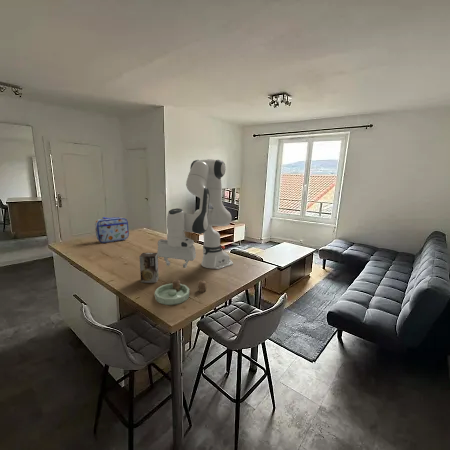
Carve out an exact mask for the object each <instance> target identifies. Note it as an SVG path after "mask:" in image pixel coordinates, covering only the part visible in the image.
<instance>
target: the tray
mask: <svg viewBox="0 0 450 450" xmlns="http://www.w3.org/2000/svg"><path fill="white" fill-rule="evenodd" d="M190 291H191V289H190V288H189V286H187V285H186V284H182V283H180V291H178V292H176V289H173V285H172V283H166V284H162V285H161V286H159V287H157V288H156V289H155V291H154V298H155V301H156V302H157V303H159V304H161V305H166V306H174V305H180V304H182V303H185V302H187V300H188V299H189V297H190Z"/></svg>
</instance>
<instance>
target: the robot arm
mask: <svg viewBox="0 0 450 450" xmlns="http://www.w3.org/2000/svg"><path fill="white" fill-rule="evenodd" d="M189 168H190V169H189V172H188V174H187V178H186V182H185V186H186V189H187V190H188V192H189V193H191V194H192V195H193V196H196V197H197V198H199V199H200V200H199V209H196V210H195V212H193V213H188V212H187V213H186V212H184V210H183V208H172V209H170V210H168V212H167V215H166V216H167V217H166V229H167V234H166V239H163V238H162V239H161V238H160V239H159V240H158V241H157V252H156V253H157V255H158V258H163V260H164V261H165V263H166V264H165V265H166V266H171V261H170V260H169V259H175V260H182V261H184V263H183V264H182V268H184V269H187V267H188V263H189V261H191V262H193V261H194V260H195V259H196V257H197V255H196V253H197V252H196V247H195V241H194V239H192V238H189V237H187V236H186V233H185V232H188V233H192V234H197V235H198V234H199V235H202V234H203V245H202V248H203V249H202V254H203V256H202V260H201V264H200V265H201V266H202V267H203V268H205V269H206V268H207V269H215V270H219V269H222V268H226V267H229V266H232V265H233V264H234V262H233V261H232V260H231V257H230V255H229V254H228V253H227V252H226V251H224V250H225V248H226V247H225V245H221V234H220V233H219V231H217V230H216V229H214V227H227V226H229V225H230V224H231V222H232V219H233V217H232V214H231V212H230V211H229V210H227V208H226V207H225V206H224V203H223V199H222V189H223V188H222V186H223V185H222V178H223V177H224V175H225V173H226V164H225V162H224V161H223V160H221V159H213V158H211V159H210V158H206V159H195V160H193V161H192V162H191V164H190V167H189ZM210 205H211V207H212V208H210Z"/></svg>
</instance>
